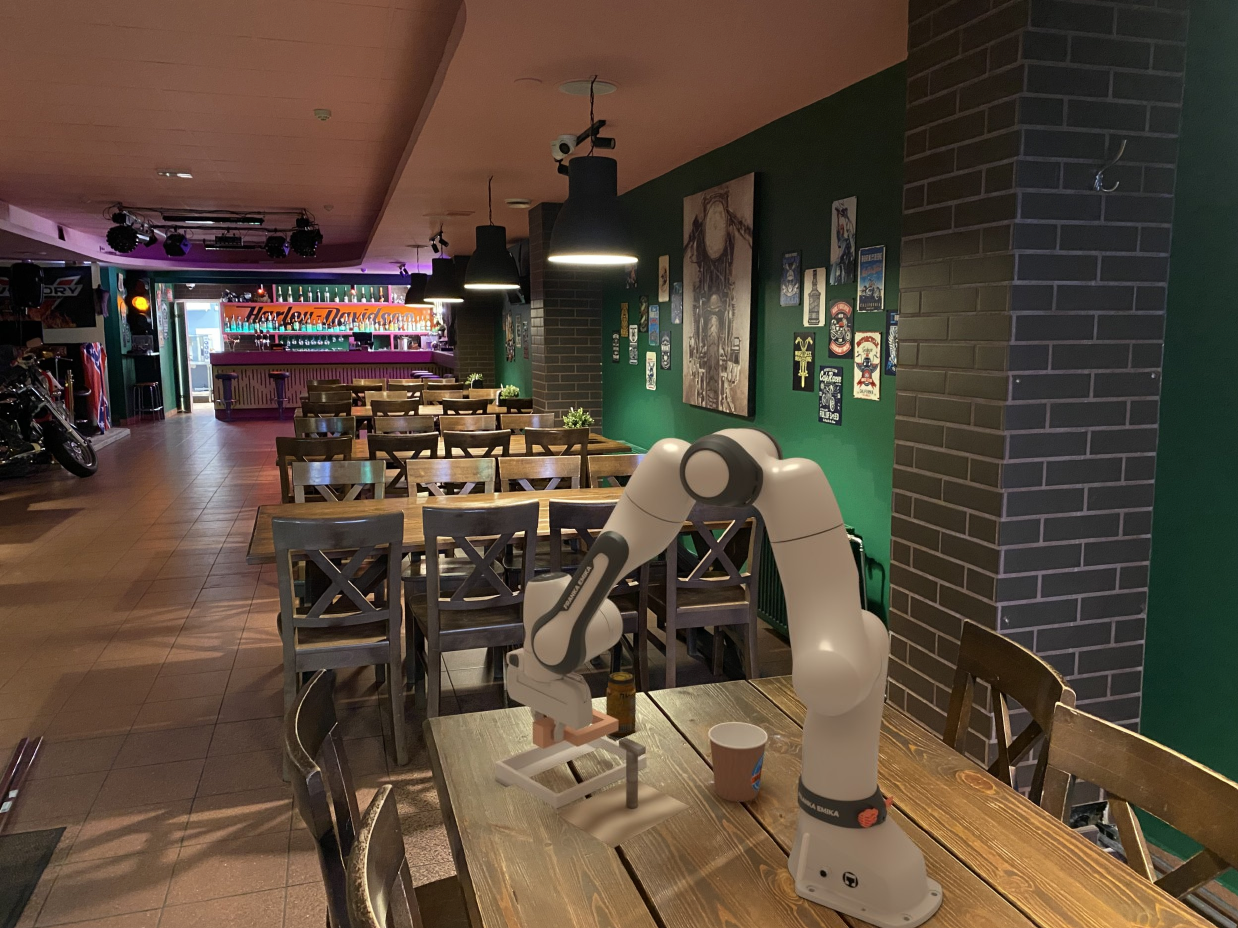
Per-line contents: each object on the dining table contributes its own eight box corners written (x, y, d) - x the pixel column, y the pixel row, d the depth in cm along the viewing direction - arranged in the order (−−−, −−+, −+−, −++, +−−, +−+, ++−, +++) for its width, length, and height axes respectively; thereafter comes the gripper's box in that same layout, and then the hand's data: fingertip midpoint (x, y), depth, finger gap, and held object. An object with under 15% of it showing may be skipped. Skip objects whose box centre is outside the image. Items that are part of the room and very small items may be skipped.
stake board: (690, 814, 150) (691, 743, 149) (613, 856, 138) (613, 779, 136) (632, 785, 160) (632, 718, 159) (555, 821, 148) (555, 749, 146)
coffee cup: (765, 816, 150) (766, 749, 148) (704, 810, 152) (705, 744, 150) (767, 787, 160) (768, 724, 158) (710, 781, 162) (711, 719, 160)
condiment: (623, 721, 188) (623, 667, 186) (649, 735, 181) (650, 679, 180) (596, 731, 183) (596, 675, 182) (622, 745, 177) (622, 687, 175)
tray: (646, 774, 165) (646, 756, 164) (556, 816, 150) (556, 797, 149) (583, 743, 177) (583, 727, 177) (495, 779, 162) (495, 761, 162)
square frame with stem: (618, 730, 164) (618, 709, 163) (555, 755, 154) (555, 733, 153) (582, 713, 171) (582, 693, 171) (520, 736, 161) (520, 715, 160)
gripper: (601, 673, 152) (601, 749, 154) (527, 643, 166) (528, 713, 168) (573, 683, 147) (573, 761, 149) (500, 651, 162) (501, 723, 164)
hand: (549, 735), depth 159 cm, fingers closed on square frame with stem, 3 cm apart
